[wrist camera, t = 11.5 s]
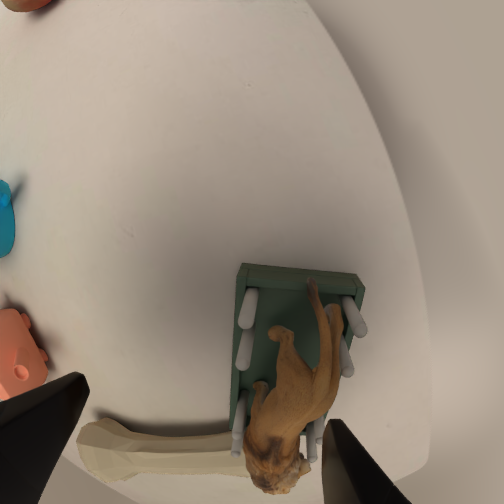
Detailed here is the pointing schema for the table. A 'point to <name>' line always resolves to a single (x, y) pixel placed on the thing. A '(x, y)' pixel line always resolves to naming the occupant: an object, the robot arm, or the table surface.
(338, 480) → the robot arm
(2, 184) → the mug
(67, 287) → the table surface
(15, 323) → the teapot
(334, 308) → the lion figurine
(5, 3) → the fruit
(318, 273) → the drying rack
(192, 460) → the faceted club
